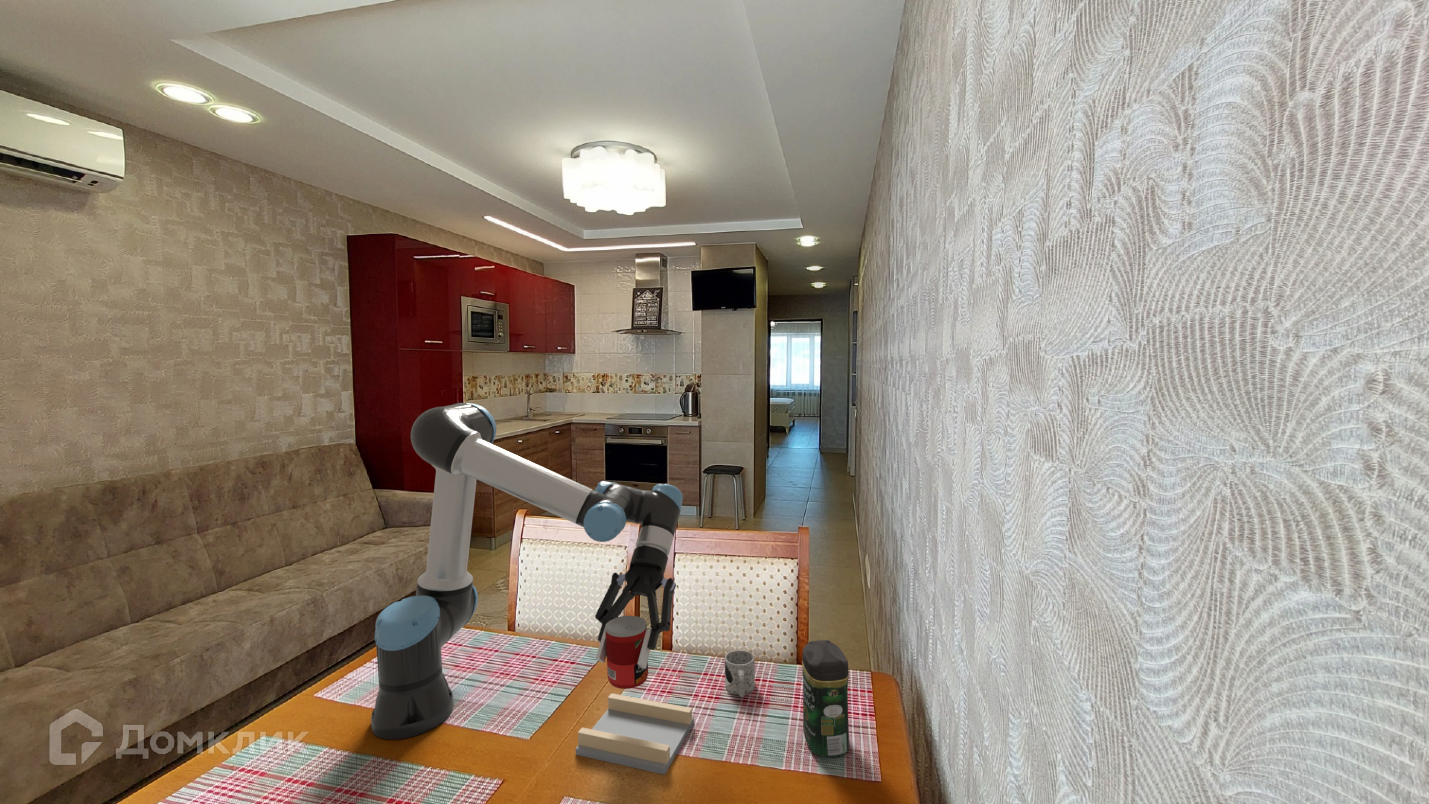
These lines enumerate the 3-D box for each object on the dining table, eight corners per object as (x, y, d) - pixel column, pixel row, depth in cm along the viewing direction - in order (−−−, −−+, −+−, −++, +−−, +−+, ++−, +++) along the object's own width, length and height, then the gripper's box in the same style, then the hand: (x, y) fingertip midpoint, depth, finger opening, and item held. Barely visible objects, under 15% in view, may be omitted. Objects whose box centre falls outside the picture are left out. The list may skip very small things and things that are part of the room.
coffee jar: (798, 728, 112) (797, 637, 111) (837, 724, 113) (836, 634, 111) (812, 762, 102) (811, 663, 101) (854, 758, 103) (854, 660, 102)
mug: (724, 678, 130) (723, 650, 130) (753, 677, 130) (752, 649, 130) (726, 704, 120) (726, 674, 120) (758, 703, 120) (757, 673, 120)
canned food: (643, 690, 106) (641, 634, 105) (602, 689, 107) (599, 633, 106) (652, 668, 114) (650, 615, 113) (614, 667, 115) (611, 614, 114)
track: (575, 754, 106) (575, 735, 105) (614, 707, 120) (613, 690, 120) (664, 774, 100) (664, 754, 100) (694, 722, 114) (693, 705, 114)
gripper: (702, 563, 121) (677, 677, 107) (614, 556, 127) (579, 662, 113) (693, 547, 116) (665, 664, 102) (601, 540, 122) (564, 649, 108)
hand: (620, 663), depth 107 cm, fingers closed on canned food, 8 cm apart
